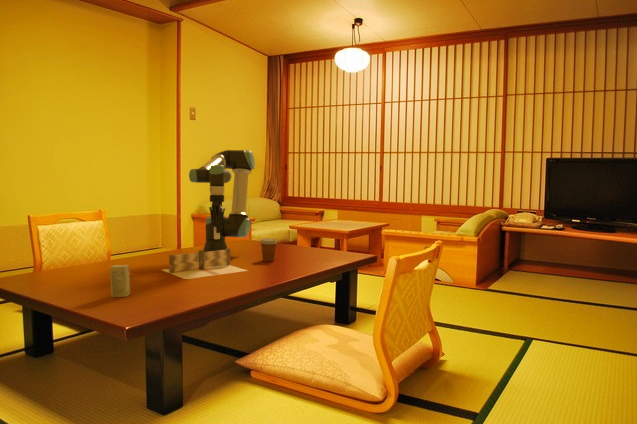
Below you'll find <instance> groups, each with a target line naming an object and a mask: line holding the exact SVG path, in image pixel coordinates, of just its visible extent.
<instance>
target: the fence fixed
mask: <svg viewBox="0 0 637 424" xmlns="http://www.w3.org/2000/svg"><path fill="white" fill-rule="evenodd" d="M168 263H169V264H168V267H169V268H168V269H169V272H170V273H174V272H176V271H184V270H192V269H203V249H202V250H198V252H192V253H181V254H180V253H179V254H169V255H168ZM170 273H169V274H170Z"/></svg>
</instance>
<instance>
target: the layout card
mask: <svg viewBox="0 0 637 424" xmlns="http://www.w3.org/2000/svg"><path fill="white" fill-rule="evenodd" d="M161 271H162V272H166V273H168V274H171V275H174V276H176V277H179V278H181V279H184V280H189V279H190V280H191V279H197V278H198V279H199V278H205V277H213V276H218V275H219V276H220V275H227V274H234V273H241V272H249V270H247V269H245V268H244V269H243V268H240V267H238V266H234V265H231V264H230V265H224V266H216V267H208V268H203V269H192V270H184V271H176V272H174V273H170V272H169V268H164V269H163V268H162V269H161Z"/></svg>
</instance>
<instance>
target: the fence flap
mask: <svg viewBox="0 0 637 424" xmlns="http://www.w3.org/2000/svg"><path fill="white" fill-rule="evenodd" d="M224 265H231V248H228V247H227V249H226V250H220V251H210V252H203V268H208V267H216V266H224Z"/></svg>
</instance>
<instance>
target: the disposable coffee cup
mask: <svg viewBox="0 0 637 424" xmlns="http://www.w3.org/2000/svg"><path fill="white" fill-rule="evenodd" d="M277 243H278V240H277V239H276V238H261V239H260V246H261V255H262V261H263V262H274V261H275V258H276V257H275V255H276V249H277Z"/></svg>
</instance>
